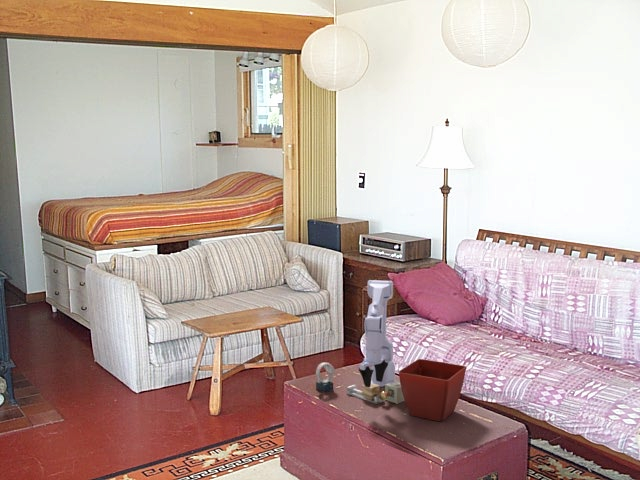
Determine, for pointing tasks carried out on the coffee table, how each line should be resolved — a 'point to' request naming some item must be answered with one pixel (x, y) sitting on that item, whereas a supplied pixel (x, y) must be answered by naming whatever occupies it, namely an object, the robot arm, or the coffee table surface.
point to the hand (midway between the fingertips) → (373, 383)
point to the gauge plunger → (385, 394)
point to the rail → (357, 393)
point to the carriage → (370, 391)
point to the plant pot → (431, 388)
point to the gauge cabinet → (397, 395)
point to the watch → (324, 384)
